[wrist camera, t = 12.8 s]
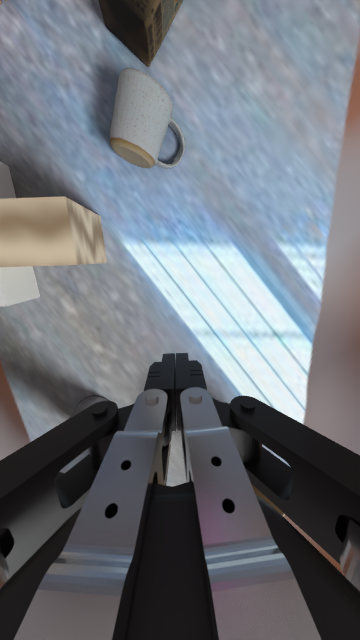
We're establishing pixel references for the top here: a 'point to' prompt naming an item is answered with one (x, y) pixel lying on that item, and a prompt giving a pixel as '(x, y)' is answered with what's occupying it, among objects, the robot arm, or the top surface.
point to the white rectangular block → (14, 281)
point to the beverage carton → (140, 23)
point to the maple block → (49, 233)
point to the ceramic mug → (142, 120)
